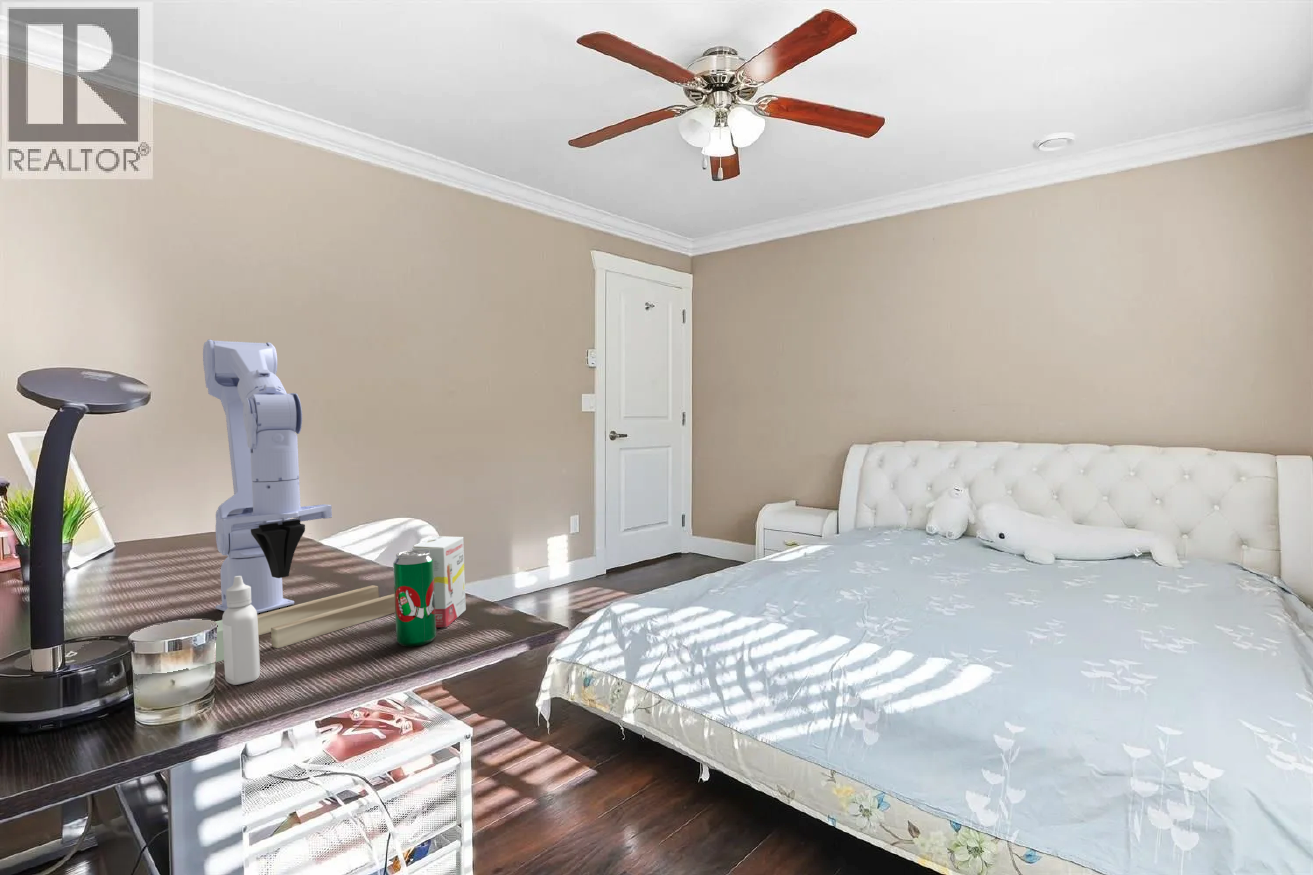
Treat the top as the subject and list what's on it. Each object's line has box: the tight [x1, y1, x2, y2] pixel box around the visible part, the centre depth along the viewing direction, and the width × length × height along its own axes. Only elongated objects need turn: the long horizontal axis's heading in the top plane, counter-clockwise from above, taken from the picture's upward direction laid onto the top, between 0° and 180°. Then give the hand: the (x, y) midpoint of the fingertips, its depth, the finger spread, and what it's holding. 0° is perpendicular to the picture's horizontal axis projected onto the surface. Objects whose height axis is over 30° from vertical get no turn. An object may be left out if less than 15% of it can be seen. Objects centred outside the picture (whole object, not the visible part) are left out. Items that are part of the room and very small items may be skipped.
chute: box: [257, 584, 395, 649], centre depth 95 cm, size 10×20×2 cm, turn 147°
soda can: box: [392, 549, 437, 648], centre depth 86 cm, size 5×5×12 cm
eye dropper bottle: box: [221, 576, 261, 686], centre depth 75 cm, size 4×6×12 cm
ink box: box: [411, 535, 467, 628], centre depth 95 cm, size 9×5×12 cm, turn 177°
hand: (280, 576), depth 89 cm, fingers closed
